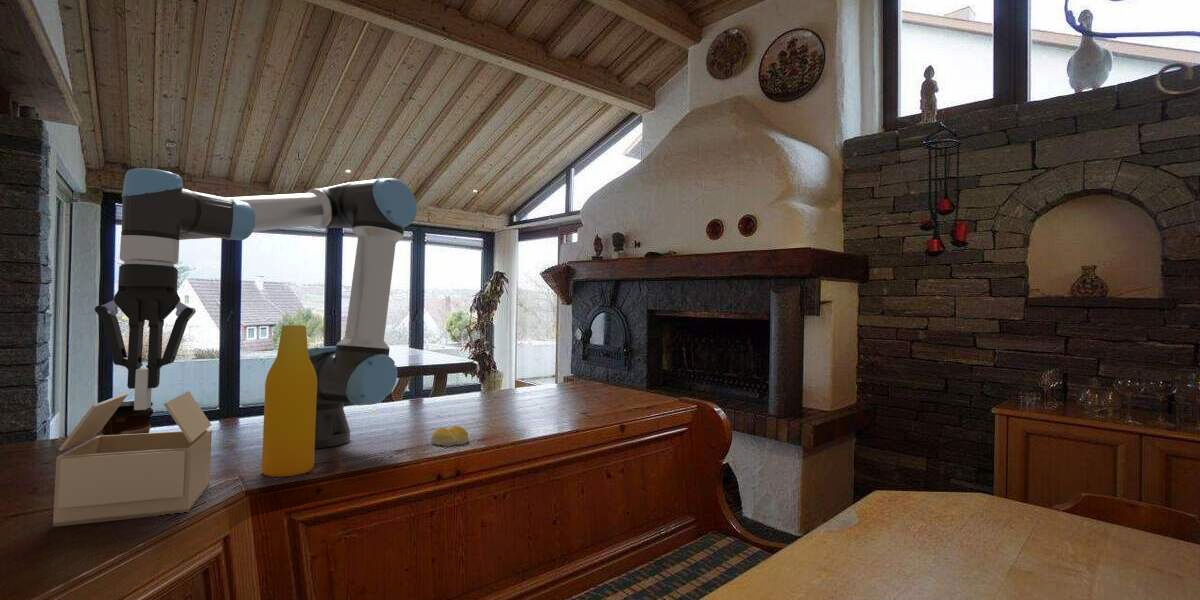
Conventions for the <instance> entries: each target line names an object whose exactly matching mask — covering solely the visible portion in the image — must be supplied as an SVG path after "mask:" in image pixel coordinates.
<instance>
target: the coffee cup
mask: <svg viewBox="0 0 1200 600" xmlns="http://www.w3.org/2000/svg"><path fill="white" fill-rule="evenodd" d="M153 405H154V403H153V402H152V401H151V407H150V408H148V409H146V410H134V400H129V401H123V402H122V403H121V405H120V406H119V407H118V408H117V410H116V411H115V412H114V414H113V415H112V416H111V418H110V419H109V420H108V422H107V423H106V424H105V426H104V427H103V428H102V430H101V431H100V436H105V435H123V434H142V433H150V429H151V427H152V426H151V423H150V422H151V416H152V415H153V414H154V409H153V408H152V406H153Z"/></svg>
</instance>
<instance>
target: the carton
mask: <svg viewBox="0 0 1200 600" xmlns="http://www.w3.org/2000/svg"><path fill="white" fill-rule="evenodd" d="M212 433H213V429H206V430H205V431H204V432H203V433H202V434H201V435H199V436H198V437H197V438H196V439H195V440H194V441H192V442H189V441H188V439H187V438H186V437H185V435H184V434H183V432H182V431H165V432H149V433H142V434H123V435H105V436H101V435H97V436H95V437H94V438H91V439H89V440H87V441H85V442H83V443H81V444H80V445H77V446H76V447H73V448H72V449H70V450H68V451H65V452H64V453H62V454H60V455H57V456H56V463H55V481H54V485H55V486H54V500H53V515H52V516H53V517H52V518H53V519H52V528H57V527H65V526H75V525H83V524H92V523H103V522H112V521H121V520H122V521H123V520H131V519H141V518H142V519H143V518H150V517H160V516H159V515H162V516H166V515H165V514H171V515H176V514H175V513H180V514H185V513H184V512H188V513H189V512H190V511H191V510H192V509H191V507H192V506H193V505H194V504H195V505H196V503H197V502H198V501H199V499H200V498H201V497H202V496H203V494H204V493H205V492H204V491H206V490H207V489H208V488H207V487H210V482H211V481H210V480H211V479H210V478H211V460H212V459H211V455H212ZM206 488H207V489H206ZM203 492H204V493H203ZM201 495H202V496H201ZM200 496H201V497H200ZM199 497H200V498H199ZM198 498H199V499H198ZM197 500H198V501H197ZM196 501H197V502H196ZM195 502H196V503H195ZM195 505H194V506H195ZM194 506H193V507H194ZM193 507H192V508H193ZM190 509H191V510H190ZM189 510H190V511H189Z"/></svg>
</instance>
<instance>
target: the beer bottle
mask: <svg viewBox="0 0 1200 600" xmlns="http://www.w3.org/2000/svg"><path fill="white" fill-rule="evenodd" d="M307 335H308V334H307V326H306V325H305V324H301V325H299V324H284V325H282V326H281V331H280V336H279V342H278V349H277V354H276V357H275V358H274V361H273V363H272V364H271V366H270V367H269V370H268V372H267V375H266V379H265V383H264V384H265V385H264V404H263V406H264V407H263V429H262V430H263V432H262V453H261V472H262V474H263V475H264V476H267V477H273V478H282V477H283V478H284V477H293V476H298V475H303V474H306V473H308V472H310V471H312V470H313V469H314V466H315V460H316V457H315V456H316V454H315V453H316V452H315V449H316V448H315V426H316V400H317V376H316V372H315V369H314V367H313V365H312V363H311V361H310V358H309V355H308V348H309V347H308V337H307Z"/></svg>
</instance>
